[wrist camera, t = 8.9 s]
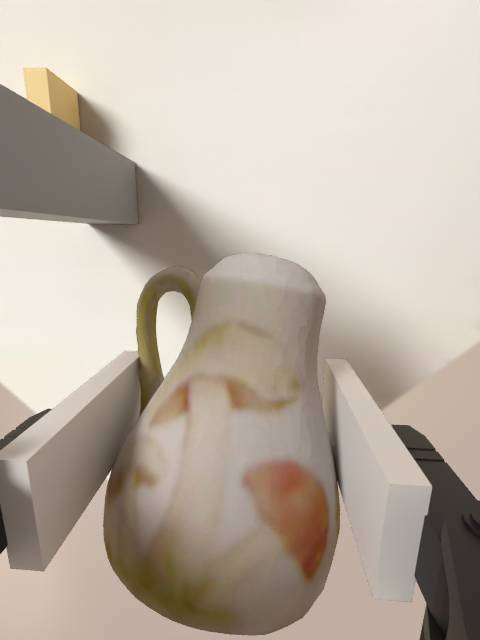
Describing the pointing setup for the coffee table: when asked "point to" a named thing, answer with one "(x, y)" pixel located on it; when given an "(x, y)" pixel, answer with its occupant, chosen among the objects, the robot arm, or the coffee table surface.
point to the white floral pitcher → (228, 454)
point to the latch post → (59, 159)
